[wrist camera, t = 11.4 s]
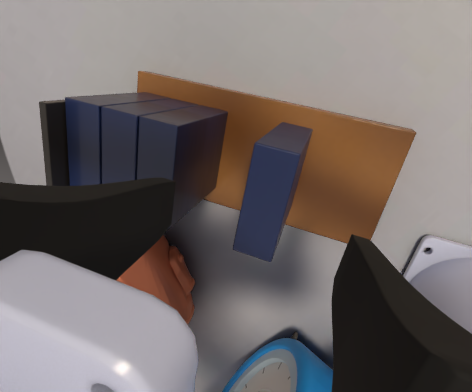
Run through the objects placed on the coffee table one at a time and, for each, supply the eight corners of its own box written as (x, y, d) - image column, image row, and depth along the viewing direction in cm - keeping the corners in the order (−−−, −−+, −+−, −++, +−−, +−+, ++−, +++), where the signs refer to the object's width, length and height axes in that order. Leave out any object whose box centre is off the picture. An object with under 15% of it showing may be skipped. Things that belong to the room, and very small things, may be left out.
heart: (45, 209, 20) (35, 339, 27) (204, 287, 20) (153, 400, 27) (101, 178, 26) (81, 294, 33) (228, 239, 25) (180, 344, 32)
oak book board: (365, 242, 21) (382, 343, 13) (140, 174, 25) (46, 220, 17) (413, 129, 18) (475, 170, 10) (145, 71, 21) (31, 66, 13)
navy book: (291, 207, 21) (270, 263, 14) (263, 199, 21) (231, 250, 15) (313, 129, 18) (301, 154, 12) (281, 121, 19) (254, 142, 13)
